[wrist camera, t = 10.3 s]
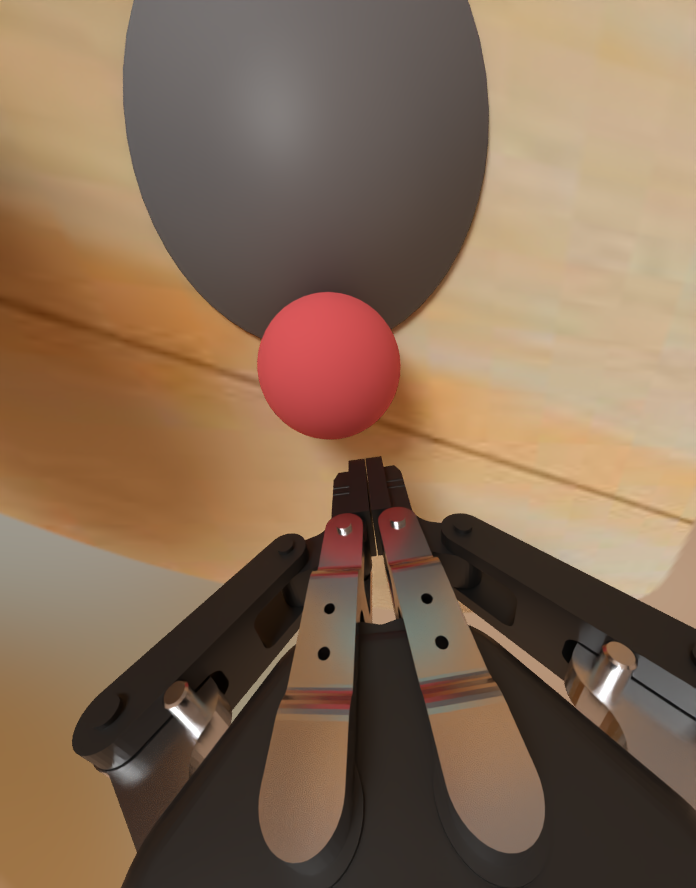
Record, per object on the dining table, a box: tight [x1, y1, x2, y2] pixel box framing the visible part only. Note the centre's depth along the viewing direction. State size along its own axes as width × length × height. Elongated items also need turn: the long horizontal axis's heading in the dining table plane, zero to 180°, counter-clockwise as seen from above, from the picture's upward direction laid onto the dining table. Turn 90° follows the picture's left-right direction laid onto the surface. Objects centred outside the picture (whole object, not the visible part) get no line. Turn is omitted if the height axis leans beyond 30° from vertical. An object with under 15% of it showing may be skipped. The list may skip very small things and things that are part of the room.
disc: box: [123, 0, 489, 338], centre depth 11 cm, size 13×13×1 cm
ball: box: [257, 292, 400, 439], centre depth 12 cm, size 6×6×6 cm
